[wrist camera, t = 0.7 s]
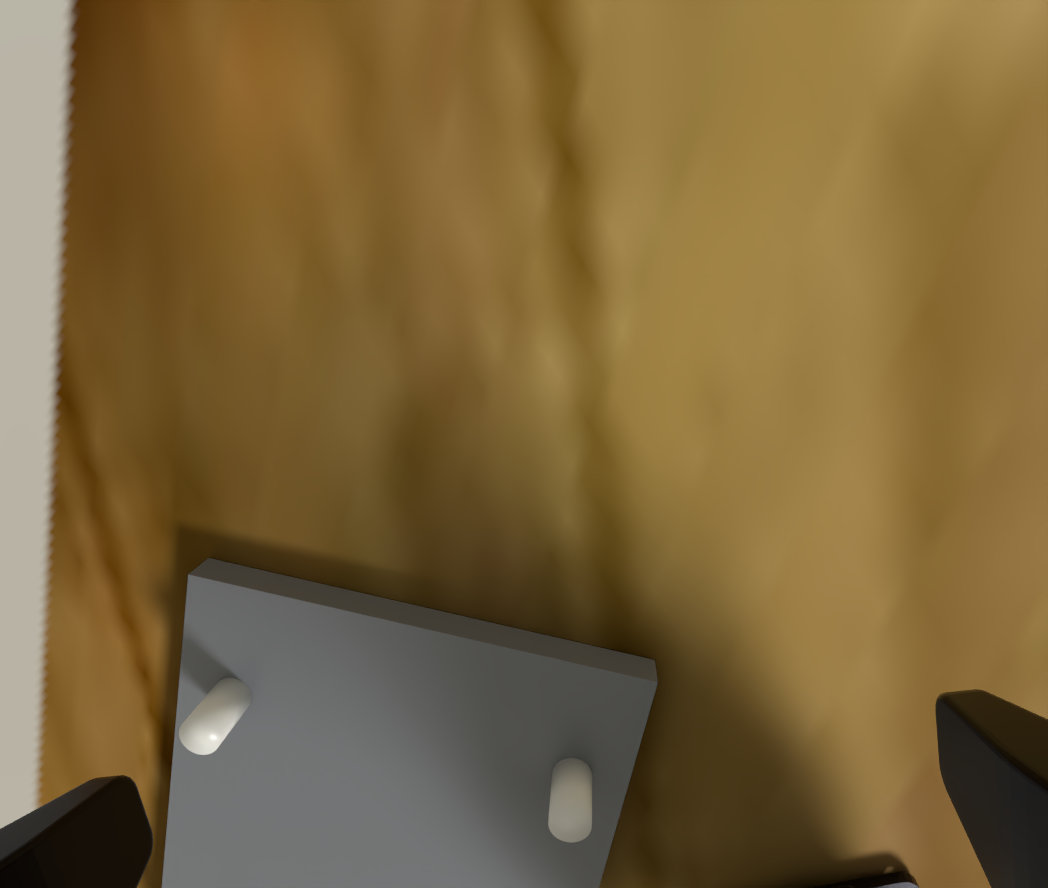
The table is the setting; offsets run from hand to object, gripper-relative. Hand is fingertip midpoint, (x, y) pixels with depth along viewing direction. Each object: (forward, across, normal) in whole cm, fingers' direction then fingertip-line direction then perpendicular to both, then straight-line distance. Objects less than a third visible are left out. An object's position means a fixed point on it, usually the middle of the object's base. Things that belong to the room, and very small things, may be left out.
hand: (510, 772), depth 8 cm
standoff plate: (+14, +8, +12) cm, 20 cm away
